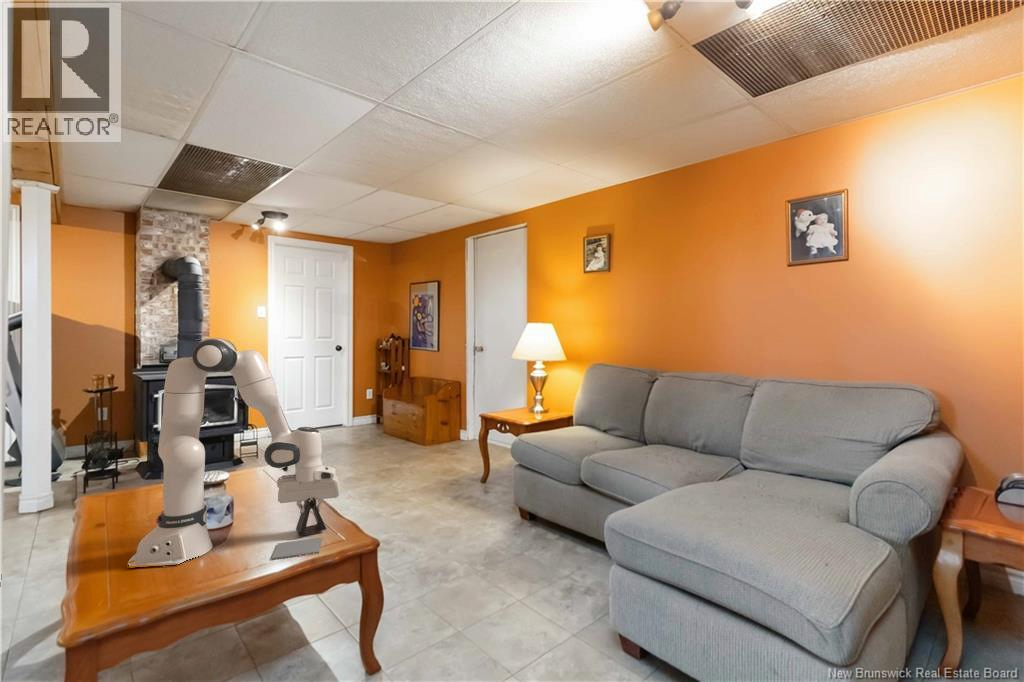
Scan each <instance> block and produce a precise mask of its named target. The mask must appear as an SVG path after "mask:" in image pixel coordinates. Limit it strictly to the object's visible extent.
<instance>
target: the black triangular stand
mask: <svg viewBox="0 0 1024 682" xmlns="http://www.w3.org/2000/svg"><path fill="white" fill-rule="evenodd" d="M312 499H314V498H312ZM302 506H303V507H305V510H304V513H301V514H300V515H299V519H298V520H297V525H296V527H295V531H296V532H297V534H298V535H299V537H301V536H305V535H309V534H312V533H317V532H321V531H326V530H327V527H326V525H325V522H324V521H323V518H322V516H321V514H320V511H318V509H317V507H316V506H317V500H315V499H314V500H310V498H309V499H307V501H303V505H302ZM311 510H312V513H313V515H314V518H315V522H316V524H312V525H308V521H309V516H310V513H311ZM307 525H308V526H307Z"/></svg>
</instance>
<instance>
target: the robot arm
mask: <svg viewBox="0 0 1024 682" xmlns="http://www.w3.org/2000/svg"><path fill="white" fill-rule="evenodd" d="M227 372H228V373H230V374H231V375H232V377H233V379H234V381H235V384H236V386H237V389H238V392H239V395H240V397H241V398H242V400H243V401H244V403H245V404H246V406H248V407H249V408H252V409H254V410H256V411H258V412H259V413H260V414H261V415H262V417H263V418H264V421H265V424H266V425H267V428H268V430H269V433H270V435H271V442H270V443H269V444H268V446H267V447H266V448H265V450H264V455H263V456H264V461H265V462H266V464H267V465H268V466H269V467H272V468H276V469H281V468H286V467H291V466H293V465H294V466H295V467H294V468H295V470H294V471H295V473H294V474H285V475H284V474H283V475H281V476H280V477H278V479H277V480H276V484H277V485H276V486H277V488H278V493H277V501H278V502H279V503H280V504H285V503H296V506H297V508H298V509H299V511H300V512H299V513H300V515H301V513H304V510H305V507H303V505H302V503H303V502H304V501H307V499H309V498H310V500H314V499H315V500H316V501H317V502H318V504H316V507H317V509H318V511H319V512H320V510H321V505H322V503H323V501H324V500H326V499H327V500H328V499H337V498H338V497H339V496H340V495H341V486H340V485H341V484H340V481H339V477H338V476H337V475H336V474H337V473H336V472H337V470H336V468H334V467H331V466H328V465H327V466H326V465H323V461H322V453H323V445H322V442H323V441H322V436H321V432H320V431H319V429H317V428H315V427H311V426H301V427H297V428H296V429H295V430H294V431H293V430H292V429H291V427H290V426H289V424H288V421H287V418H286V416H285V414H284V412H283V409H282V407H281V404H280V401H279V396H278V395H279V394H278V392H277V391H278V390H277V387H276V383H275V380H274V377H273V374H272V372H271V369H270V367H269V366H268V363H267V361H266V360H265V358H264V357H263V355H262V354H261V352H260V351H257V350H253V349H247V350H242V351H238V350H237V347H236V346H235V345H234V344H233V343H232V342H231V341H229V340H228V339H225V338H224V339H223V338H218V337H213V338H209V339H205V340H201V341H200V342H199V343H197V344H196V346H195V347H193V350H192V355H191V356H190V357H180V358H175V359H174V360H172V361H171V362H170V363H169V365H168V368H167V371H166V376H165V381H164V388H163V402H162V403H163V404H162V416H161V418H162V419H161V425H160V430H159V436H158V437H159V438H158V448H157V453H158V457H159V458H160V459H161V461H162V464H163V482H162V483H163V486H162V498H163V499H162V501H163V503H162V504H163V510H162V511H161V512H160V514H159V515H158V516H157V518H156V519H155V524H157V525H156V527H155V528H153V529H152V530H150V532H149V533H147V534H146V535H145V536H144V537H143V538H141V540H140V541H139V542H138V545H137V548H136V553H135V554H133V555H132V557H131V558H130V559H129V560H128V561H127V566H128V565H129V566H137V565H139V566H141V565H142V566H143V565H171V564H172V565H173V564H180V563H182V562H184V561H186V560H188V561H190V560H189V559H191V560H192V558H194V559H196V558H198V556H199V557H202V556H203V555H204V554H207V553H208V552H210V551H211V550H212V549H213V547H214V546H213V543H212V541H211V538H210V534H209V531H208V530H209V529H208V524H207V522H208V511H207V506H206V503H205V488H204V479H205V470H206V469H205V468H206V466H205V463H206V451H205V449H206V448H205V446H204V444H203V443H202V442H201V441H200V439H199V437H200V431H201V426H202V421H203V418H204V411H205V410H204V407H205V390H206V380H207V376H208V375H209V374H210V373H227ZM312 498H314V499H312ZM195 557H196V558H195ZM133 560H135V562H133V563H129V562H130V561H133ZM186 562H187V561H186ZM184 563H185V562H184ZM182 564H183V563H182ZM180 565H181V564H180Z"/></svg>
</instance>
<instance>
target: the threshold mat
mask: <svg viewBox="0 0 1024 682" xmlns="http://www.w3.org/2000/svg"><path fill="white" fill-rule="evenodd" d="M322 538H323V536H322V537H315V538H314V537H313V538H308V539H300V540H291V541H285V542H284V541H283V542H278V543H277V545H276V546H275V549H274V551H273V553H272V555H271V560H270V561H275V560H276V559H277V560H282V558H283V559H289V558H288V557H290V558H294V557H293V556H297V557H300V556H299V555H304V556H307V555H306V554H311V555H314V554H313V553H318V554H320V552H319V551H320V550H321V547H322V542H323V539H322Z"/></svg>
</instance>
